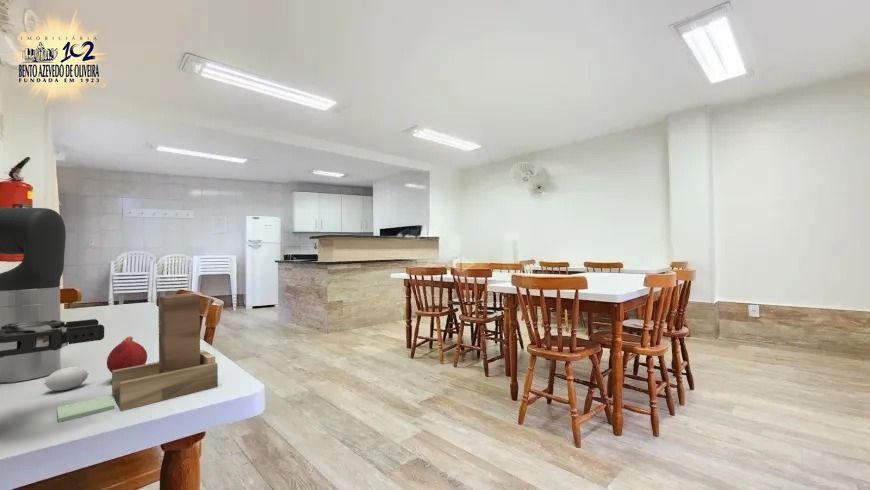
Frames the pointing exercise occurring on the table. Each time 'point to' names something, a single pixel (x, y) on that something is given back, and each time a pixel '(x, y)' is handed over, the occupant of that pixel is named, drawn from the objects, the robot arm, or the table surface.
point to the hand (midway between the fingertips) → (100, 328)
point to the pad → (84, 408)
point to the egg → (66, 378)
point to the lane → (161, 382)
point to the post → (179, 332)
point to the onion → (126, 355)
